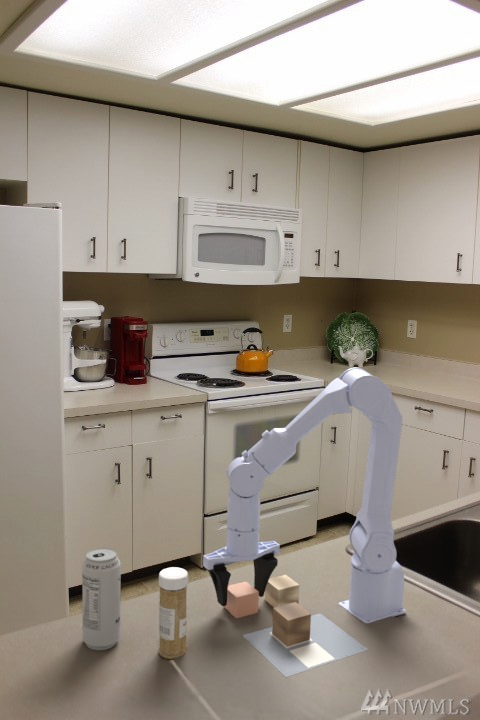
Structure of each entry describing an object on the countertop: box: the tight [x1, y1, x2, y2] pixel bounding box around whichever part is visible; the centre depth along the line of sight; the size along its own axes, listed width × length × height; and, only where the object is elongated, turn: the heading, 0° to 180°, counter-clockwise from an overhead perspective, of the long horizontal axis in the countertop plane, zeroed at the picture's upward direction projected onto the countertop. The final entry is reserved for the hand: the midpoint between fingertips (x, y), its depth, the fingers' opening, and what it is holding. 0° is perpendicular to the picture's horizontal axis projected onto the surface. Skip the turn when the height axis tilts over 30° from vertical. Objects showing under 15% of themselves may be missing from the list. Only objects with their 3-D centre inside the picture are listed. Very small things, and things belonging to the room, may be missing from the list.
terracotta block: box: [223, 581, 260, 619], centre depth 119 cm, size 4×4×4 cm
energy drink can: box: [81, 547, 122, 651], centre depth 108 cm, size 6×6×15 cm
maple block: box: [264, 574, 300, 608], centre depth 123 cm, size 4×4×4 cm
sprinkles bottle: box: [158, 566, 189, 660], centre depth 106 cm, size 5×5×13 cm
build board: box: [242, 613, 369, 678], centre depth 110 cm, size 16×13×1 cm
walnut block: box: [271, 602, 312, 647], centre depth 111 cm, size 4×4×4 cm
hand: (240, 599), depth 119 cm, fingers open, 7 cm apart
